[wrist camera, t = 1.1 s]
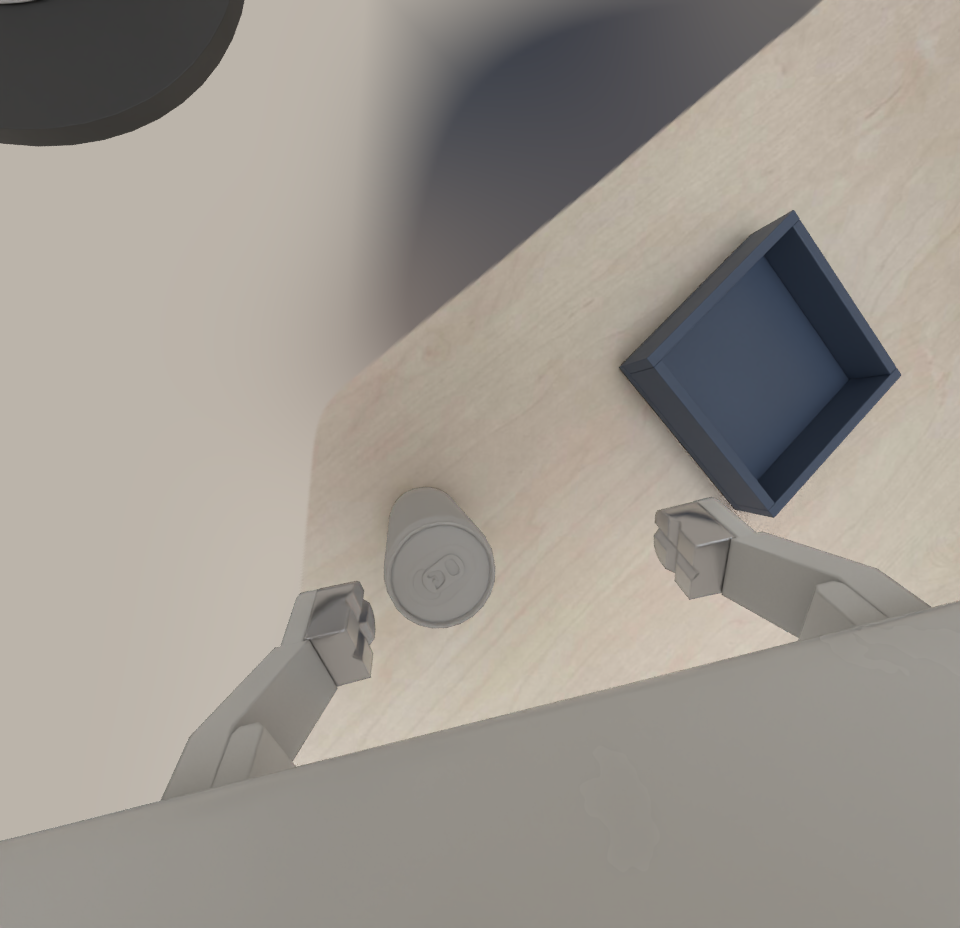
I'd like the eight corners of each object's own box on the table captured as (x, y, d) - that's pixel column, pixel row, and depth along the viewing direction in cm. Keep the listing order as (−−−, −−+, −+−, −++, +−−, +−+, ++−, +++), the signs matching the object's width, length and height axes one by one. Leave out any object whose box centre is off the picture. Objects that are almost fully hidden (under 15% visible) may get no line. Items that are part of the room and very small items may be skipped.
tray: (618, 367, 31) (646, 358, 27) (750, 234, 32) (794, 209, 29) (735, 509, 34) (774, 518, 30) (852, 381, 35) (902, 375, 32)
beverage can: (374, 512, 28) (358, 565, 16) (433, 471, 29) (457, 494, 17) (415, 566, 29) (427, 655, 17) (471, 526, 29) (520, 584, 18)
